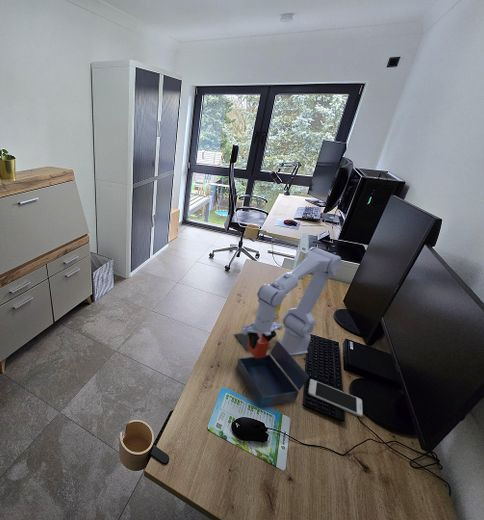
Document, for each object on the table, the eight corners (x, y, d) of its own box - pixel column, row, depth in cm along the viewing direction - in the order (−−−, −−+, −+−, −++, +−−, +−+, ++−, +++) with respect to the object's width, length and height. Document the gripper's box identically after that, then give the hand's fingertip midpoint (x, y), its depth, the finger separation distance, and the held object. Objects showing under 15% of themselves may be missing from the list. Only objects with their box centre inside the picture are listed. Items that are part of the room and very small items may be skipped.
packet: (256, 345, 111) (260, 331, 107) (265, 357, 105) (269, 342, 102) (246, 346, 110) (250, 332, 107) (255, 358, 105) (259, 344, 102)
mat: (255, 332, 128) (256, 331, 128) (268, 348, 119) (268, 347, 119) (234, 335, 126) (235, 334, 126) (246, 351, 118) (246, 350, 117)
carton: (266, 364, 112) (269, 354, 109) (294, 402, 97) (298, 391, 95) (236, 368, 110) (238, 358, 107) (259, 408, 95) (263, 397, 93)
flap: (269, 353, 109) (270, 353, 109) (299, 390, 94) (299, 390, 94) (277, 340, 106) (278, 340, 107) (308, 376, 92) (309, 376, 92)
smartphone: (309, 380, 105) (310, 378, 105) (361, 401, 98) (362, 399, 97) (307, 394, 100) (308, 392, 99) (361, 417, 92) (362, 415, 92)
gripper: (251, 326, 95) (244, 356, 102) (291, 321, 98) (281, 351, 104) (241, 313, 102) (235, 342, 108) (278, 309, 104) (270, 337, 110)
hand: (257, 345), depth 106 cm, fingers closed on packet, 4 cm apart
